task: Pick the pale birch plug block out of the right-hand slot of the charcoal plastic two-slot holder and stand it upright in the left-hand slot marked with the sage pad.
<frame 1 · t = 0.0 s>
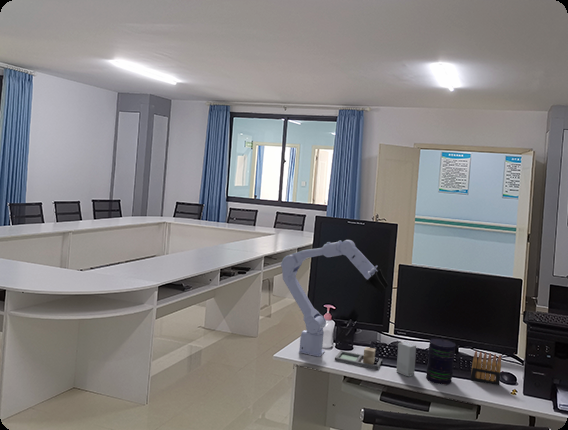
hand: (385, 288, 211), 32 cm above the table, tool tilted 50°, fingers open, 7 cm apart
birch plug: (368, 363, 216), resting in slot holder
skincare box: (404, 373, 207), on the table
ammunition clip: (484, 382, 205), on the table
slot holder: (358, 361, 217), on the table
storage jar: (438, 380, 204), on the table
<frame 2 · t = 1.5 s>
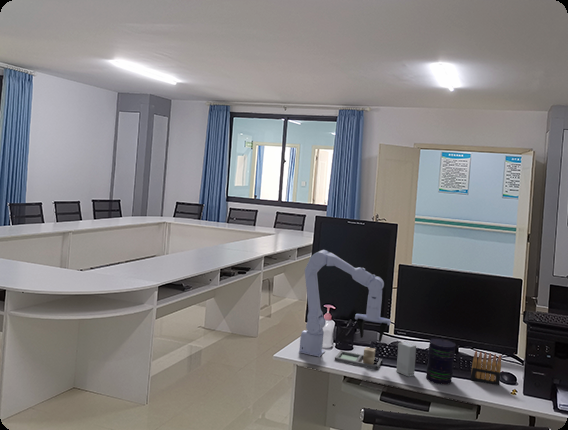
hand: (370, 338, 215), 10 cm above the table, tool pointing down, fingers open, 7 cm apart
nothing on the table moved.
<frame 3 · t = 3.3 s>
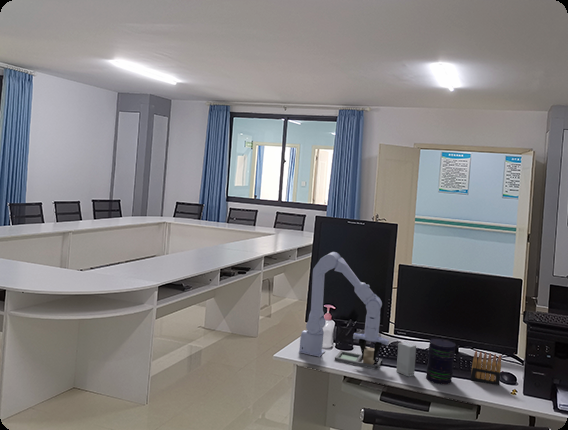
hand: (369, 358, 215), 2 cm above the table, tool pointing down, fingers closed on birch plug, 4 cm apart
birch plug: (368, 363, 216), resting in slot holder, touching gripper
everything else where it was.
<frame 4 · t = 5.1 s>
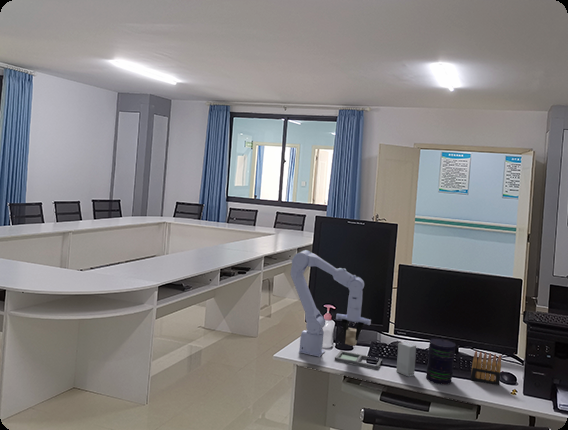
hand: (351, 338, 218), 9 cm above the table, tool pointing down, fingers closed on birch plug, 4 cm apart
birch plug: (350, 343, 218), point 7 cm above the table, touching gripper
everything else where it was.
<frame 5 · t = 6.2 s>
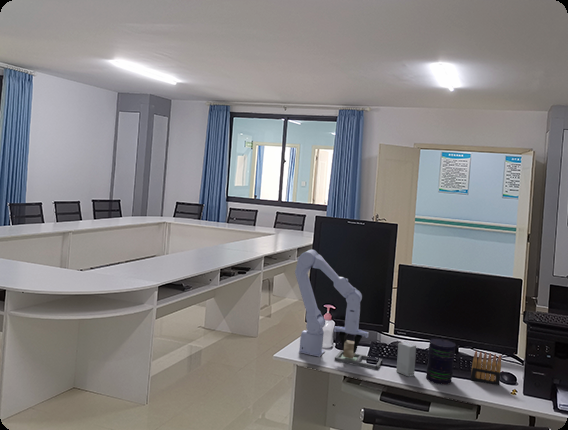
hand: (349, 350, 218), 3 cm above the table, tool pointing down, fingers closed on birch plug, 4 cm apart
birch plug: (348, 356, 218), point 1 cm above the table, touching gripper
everything else where it was.
when the fingers open (3 cm above the table, at t = 7.1 s): birch plug stays where it is, resting on slot holder.
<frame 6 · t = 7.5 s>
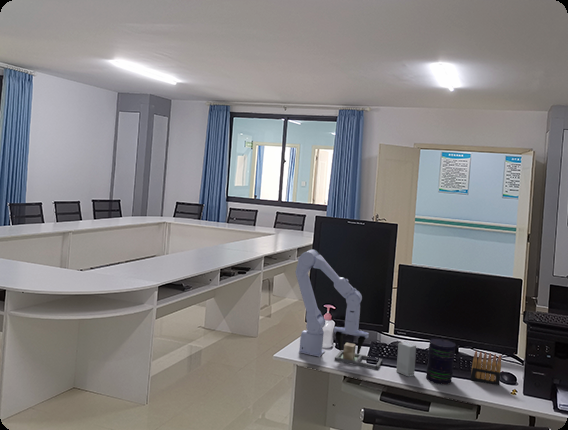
hand: (349, 351, 218), 3 cm above the table, tool pointing down, fingers open, 7 cm apart
birch plug: (348, 358, 219), resting on slot holder
everything else where it was.
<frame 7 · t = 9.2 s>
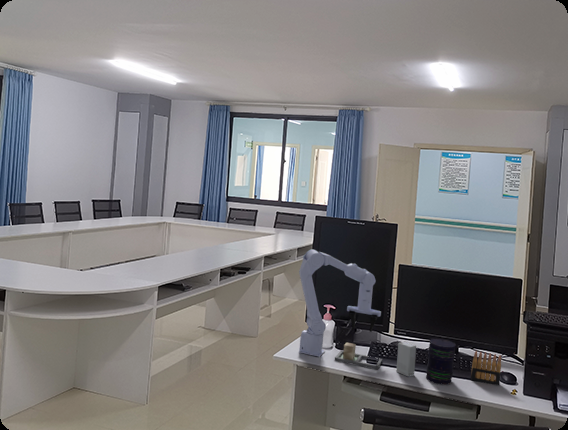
hand: (362, 329, 226), 10 cm above the table, tool pointing down, fingers open, 7 cm apart
nothing on the table moved.
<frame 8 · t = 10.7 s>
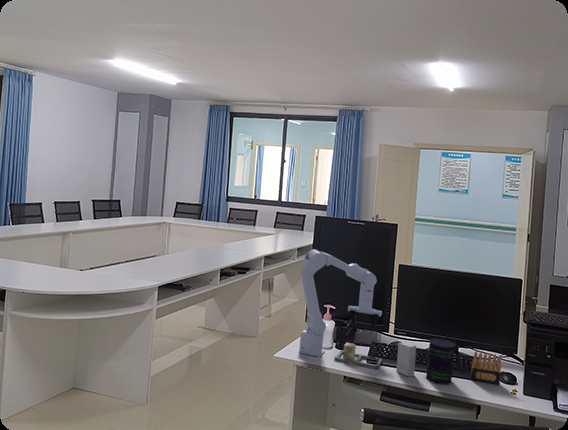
hand: (363, 329, 227), 10 cm above the table, tool pointing down, fingers open, 7 cm apart
nothing on the table moved.
at the end: birch plug 0.1 cm from the target spot on the slot holder, point 0.2 cm above the slot holder's base; birch plug tilted 0°; the gripper is holding nothing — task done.
